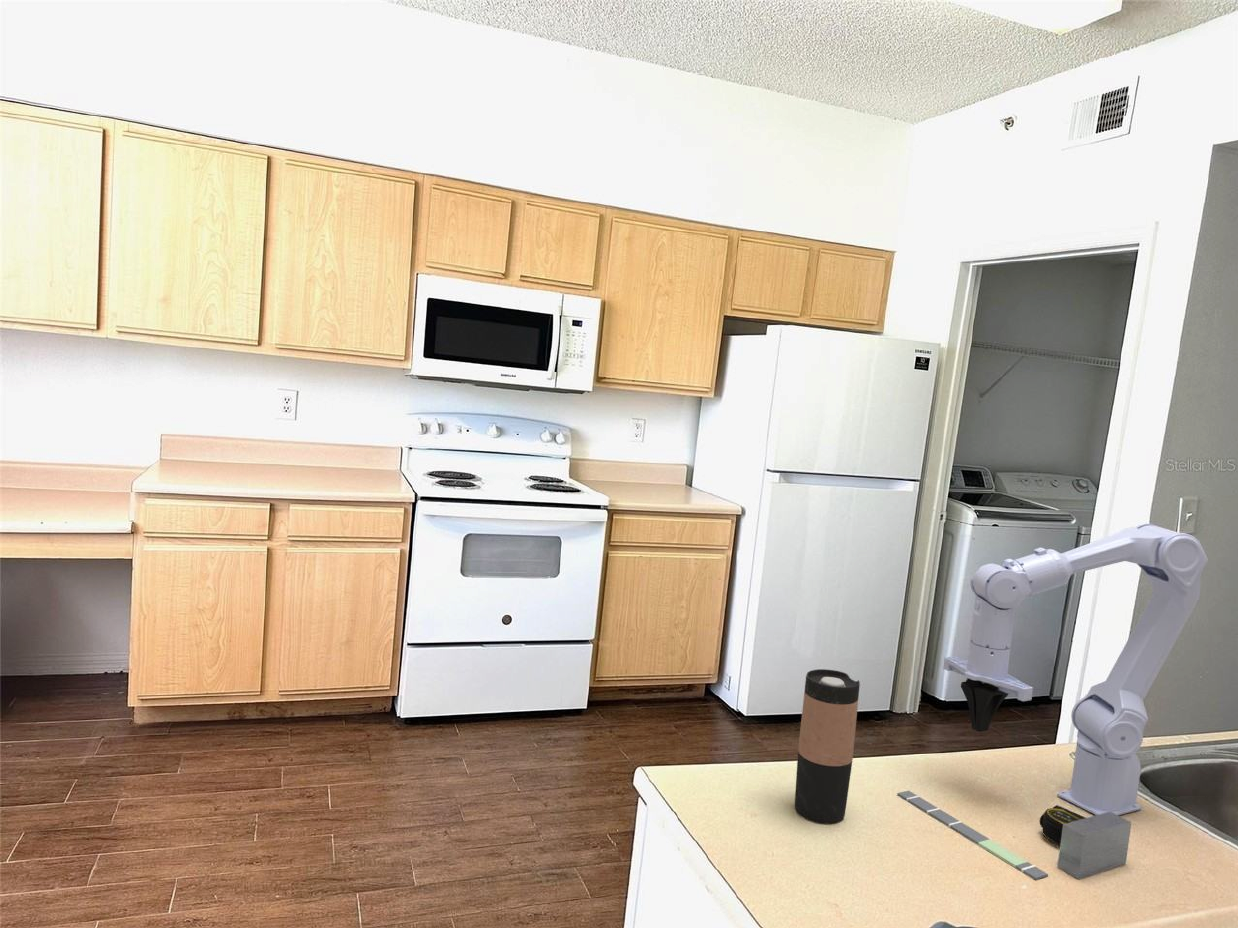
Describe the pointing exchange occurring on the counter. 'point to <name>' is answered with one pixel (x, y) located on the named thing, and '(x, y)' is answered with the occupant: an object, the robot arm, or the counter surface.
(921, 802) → the scale strip
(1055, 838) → the tape measure
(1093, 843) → the charcoal grey brick
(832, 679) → the travel mug
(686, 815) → the counter surface
